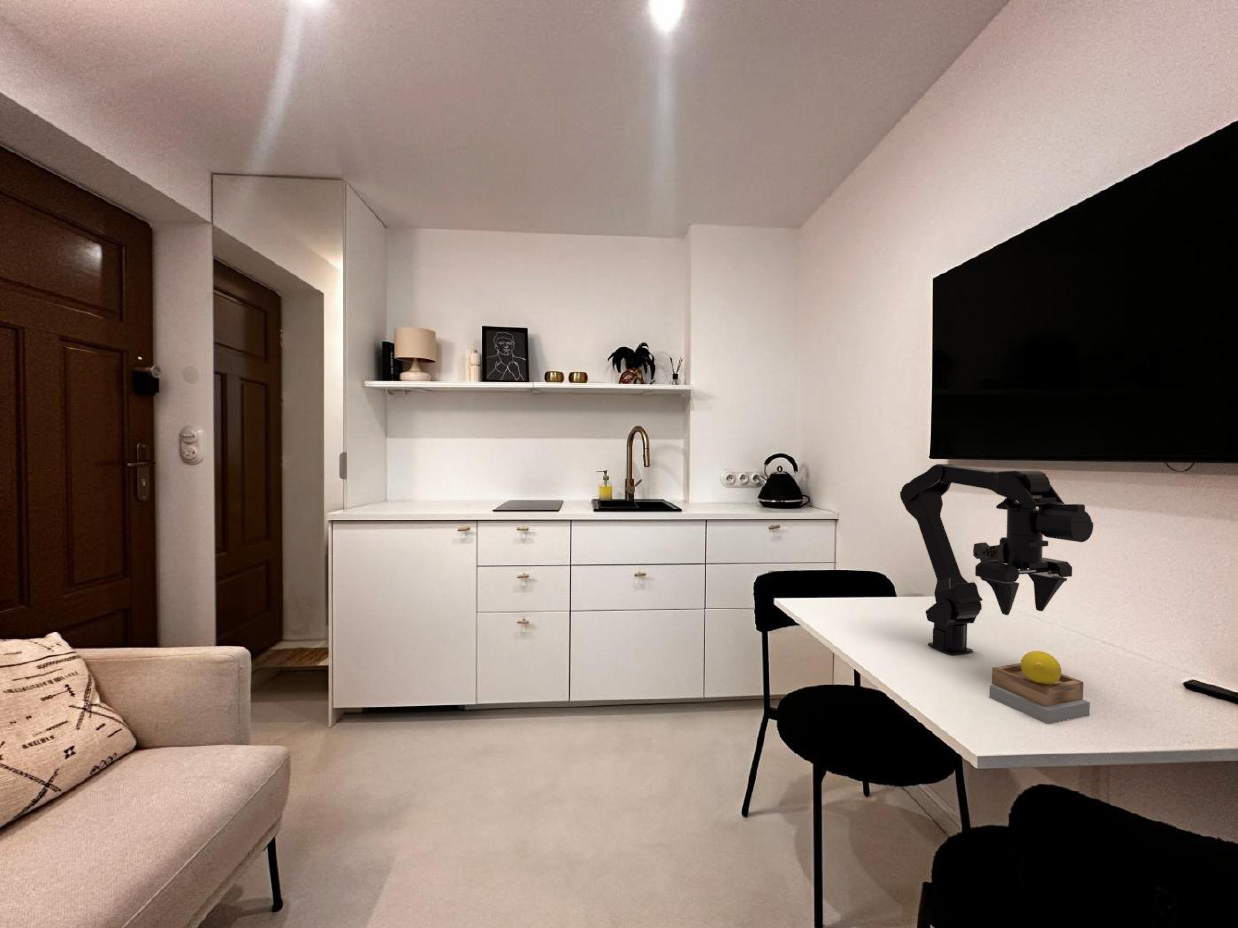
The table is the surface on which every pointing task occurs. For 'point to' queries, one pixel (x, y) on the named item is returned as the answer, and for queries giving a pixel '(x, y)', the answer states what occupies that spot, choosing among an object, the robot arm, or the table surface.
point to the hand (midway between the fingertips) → (1022, 612)
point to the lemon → (1041, 668)
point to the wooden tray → (1037, 686)
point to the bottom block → (1038, 711)
